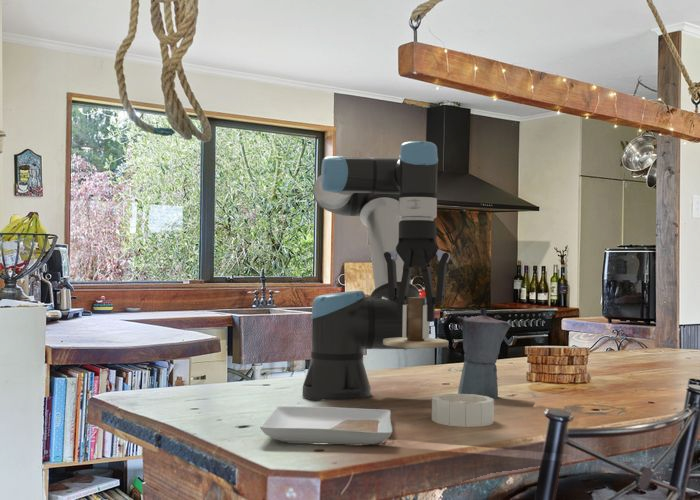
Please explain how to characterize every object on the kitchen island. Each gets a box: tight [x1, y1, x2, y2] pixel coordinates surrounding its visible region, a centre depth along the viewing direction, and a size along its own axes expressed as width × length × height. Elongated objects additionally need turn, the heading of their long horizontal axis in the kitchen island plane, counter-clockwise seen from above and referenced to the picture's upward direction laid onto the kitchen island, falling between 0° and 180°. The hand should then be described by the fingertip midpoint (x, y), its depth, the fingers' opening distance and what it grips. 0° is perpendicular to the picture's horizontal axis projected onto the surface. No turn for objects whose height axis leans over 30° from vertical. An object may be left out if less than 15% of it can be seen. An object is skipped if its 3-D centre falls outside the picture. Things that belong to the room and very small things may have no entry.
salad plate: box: [259, 406, 393, 446], centre depth 134 cm, size 21×21×3 cm
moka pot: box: [443, 307, 513, 400], centre depth 177 cm, size 10×15×20 cm, turn 78°
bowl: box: [431, 393, 495, 428], centre depth 143 cm, size 11×11×5 cm
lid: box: [383, 296, 449, 349], centre depth 156 cm, size 13×13×9 cm
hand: (415, 337), depth 156 cm, fingers closed on lid, 3 cm apart
